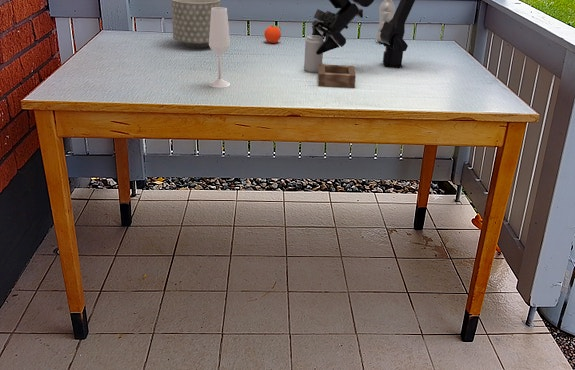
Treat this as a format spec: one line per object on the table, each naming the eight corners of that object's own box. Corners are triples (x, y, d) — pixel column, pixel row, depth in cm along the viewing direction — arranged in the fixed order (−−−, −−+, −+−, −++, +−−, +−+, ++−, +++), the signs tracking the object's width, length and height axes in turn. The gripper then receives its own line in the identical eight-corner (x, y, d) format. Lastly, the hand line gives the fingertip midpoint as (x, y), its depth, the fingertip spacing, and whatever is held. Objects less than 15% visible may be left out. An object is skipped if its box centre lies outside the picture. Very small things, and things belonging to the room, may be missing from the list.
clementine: (275, 39, 245) (275, 22, 242) (285, 43, 241) (286, 25, 237) (260, 42, 240) (261, 24, 237) (271, 45, 236) (272, 28, 232)
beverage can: (322, 68, 208) (324, 35, 202) (321, 73, 202) (323, 39, 197) (304, 67, 208) (306, 34, 203) (303, 72, 203) (305, 38, 197)
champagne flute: (211, 80, 189) (209, 6, 178) (231, 81, 189) (231, 7, 178) (208, 86, 183) (206, 10, 172) (229, 88, 183) (228, 11, 172)
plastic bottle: (392, 44, 245) (398, -4, 236) (376, 44, 245) (381, -5, 236) (390, 41, 251) (395, -7, 241) (374, 40, 251) (379, -7, 241)
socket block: (352, 77, 199) (353, 66, 198) (354, 87, 189) (355, 75, 187) (318, 75, 200) (319, 64, 198) (318, 85, 189) (319, 74, 187)
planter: (196, 37, 243) (195, -8, 235) (230, 45, 233) (230, -1, 225) (163, 45, 229) (160, -2, 221) (198, 53, 220) (196, 4, 211)
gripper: (318, -4, 203) (288, 29, 205) (340, 6, 188) (307, 41, 189) (336, 18, 210) (307, 49, 211) (359, 29, 194) (327, 63, 196)
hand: (311, 50), depth 202 cm, fingers open, 9 cm apart
